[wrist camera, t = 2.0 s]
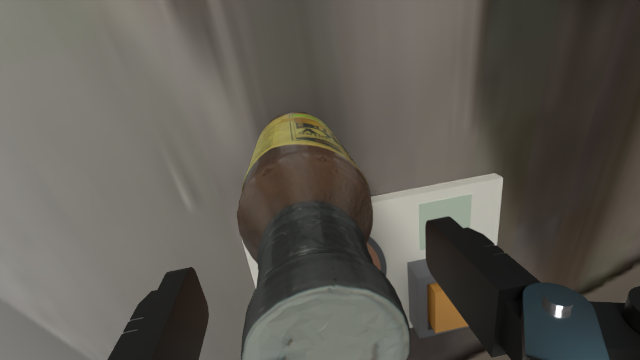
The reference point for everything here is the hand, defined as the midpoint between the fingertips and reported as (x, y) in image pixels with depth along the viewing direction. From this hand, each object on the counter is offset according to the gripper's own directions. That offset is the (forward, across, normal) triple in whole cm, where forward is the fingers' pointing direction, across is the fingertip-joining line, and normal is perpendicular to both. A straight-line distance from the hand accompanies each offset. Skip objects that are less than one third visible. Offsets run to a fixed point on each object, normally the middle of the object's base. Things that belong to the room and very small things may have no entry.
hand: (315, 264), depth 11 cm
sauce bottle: (+16, 0, 0) cm, 16 cm away
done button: (+14, -13, +17) cm, 25 cm away
